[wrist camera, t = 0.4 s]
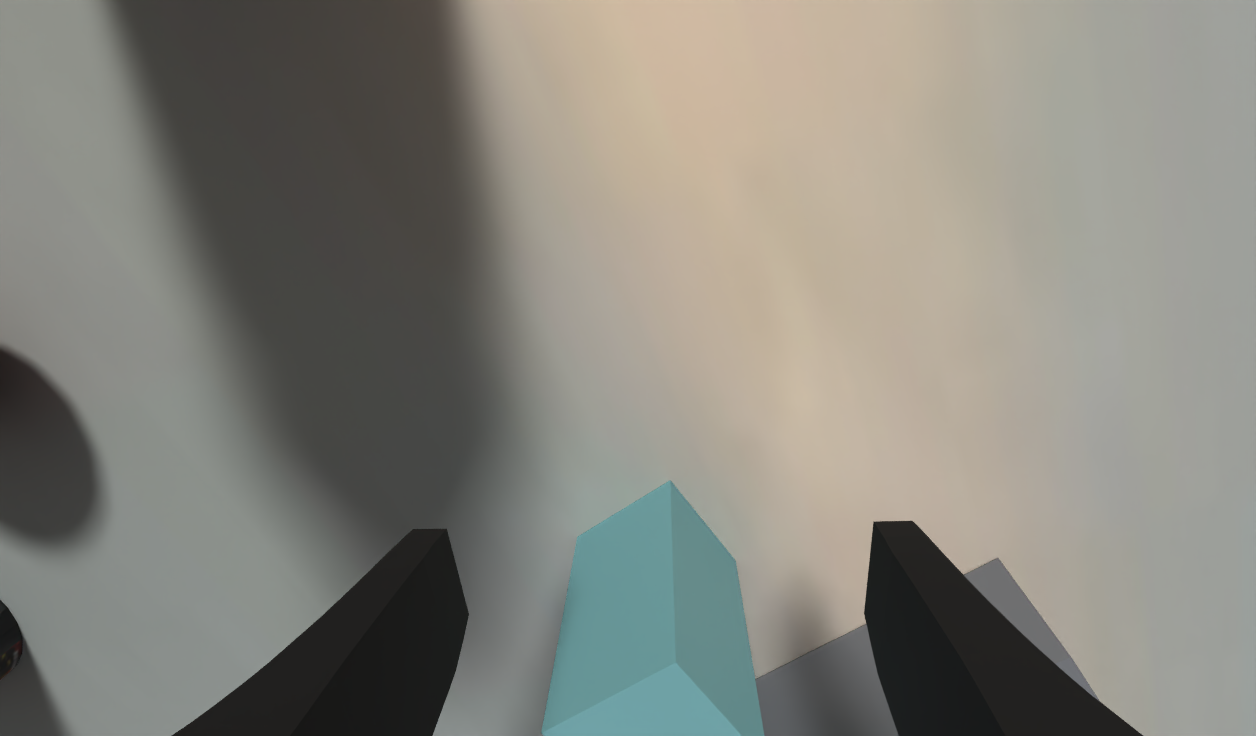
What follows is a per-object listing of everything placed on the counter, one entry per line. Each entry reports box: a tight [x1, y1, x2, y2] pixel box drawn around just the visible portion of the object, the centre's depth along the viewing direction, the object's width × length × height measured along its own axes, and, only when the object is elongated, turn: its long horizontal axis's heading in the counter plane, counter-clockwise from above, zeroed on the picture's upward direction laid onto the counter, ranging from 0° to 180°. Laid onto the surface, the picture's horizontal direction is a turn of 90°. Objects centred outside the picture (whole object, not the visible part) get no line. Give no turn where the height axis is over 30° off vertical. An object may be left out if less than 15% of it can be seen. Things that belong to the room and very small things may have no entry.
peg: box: [541, 481, 764, 736], centre depth 20 cm, size 4×4×8 cm
